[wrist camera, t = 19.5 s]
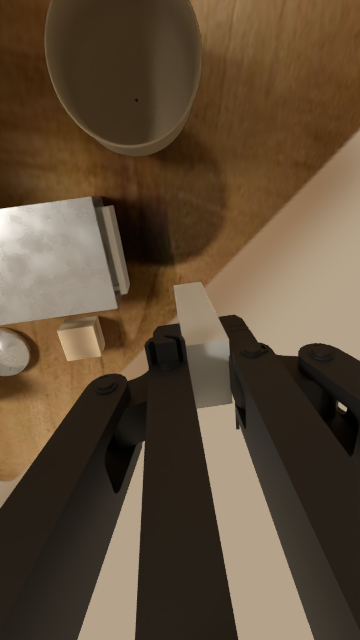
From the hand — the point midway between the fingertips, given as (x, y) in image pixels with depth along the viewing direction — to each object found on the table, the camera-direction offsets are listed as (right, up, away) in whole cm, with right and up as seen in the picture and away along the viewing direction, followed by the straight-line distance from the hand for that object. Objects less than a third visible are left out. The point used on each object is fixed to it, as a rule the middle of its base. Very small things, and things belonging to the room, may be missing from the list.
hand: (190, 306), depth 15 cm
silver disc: (-28, -5, +28) cm, 40 cm away
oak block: (-15, -3, +27) cm, 31 cm away
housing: (-17, +8, +22) cm, 29 cm away
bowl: (-6, +24, +16) cm, 29 cm away
